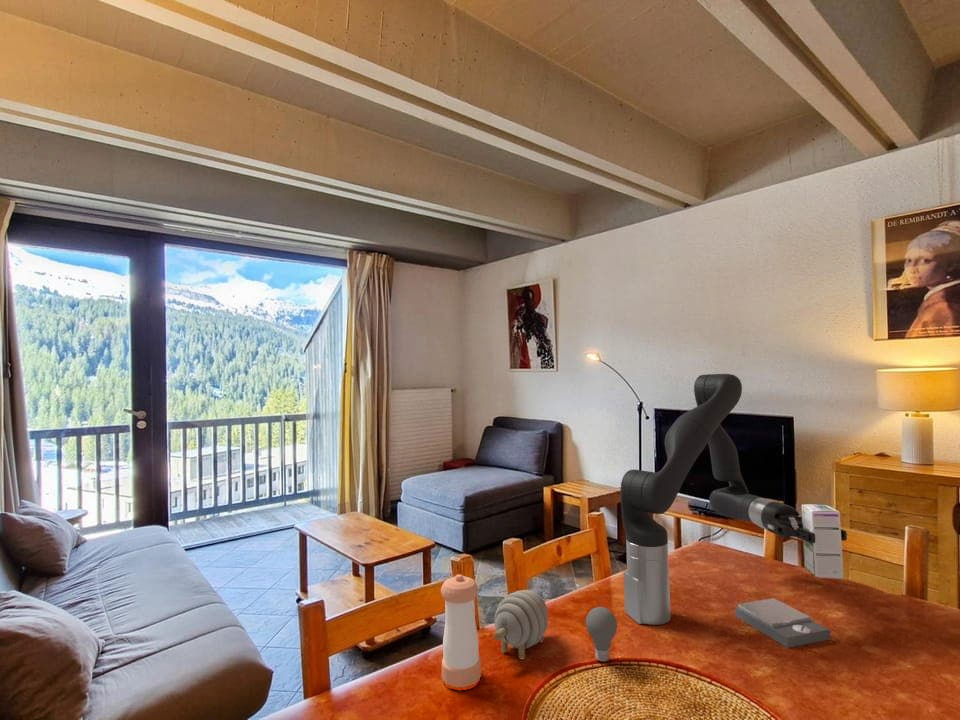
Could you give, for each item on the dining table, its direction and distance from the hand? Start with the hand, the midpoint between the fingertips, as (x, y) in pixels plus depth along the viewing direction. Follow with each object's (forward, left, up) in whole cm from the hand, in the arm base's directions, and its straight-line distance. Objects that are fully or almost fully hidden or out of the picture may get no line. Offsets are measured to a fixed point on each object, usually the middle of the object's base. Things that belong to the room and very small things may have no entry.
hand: (829, 537), depth 108 cm
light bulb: (-53, +4, -20) cm, 57 cm away
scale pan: (-10, +6, -18) cm, 21 cm away
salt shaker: (-81, +6, -20) cm, 84 cm away
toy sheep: (-67, +13, -20) cm, 71 cm away
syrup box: (0, +2, -9) cm, 9 cm away
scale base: (-10, +4, -20) cm, 22 cm away
